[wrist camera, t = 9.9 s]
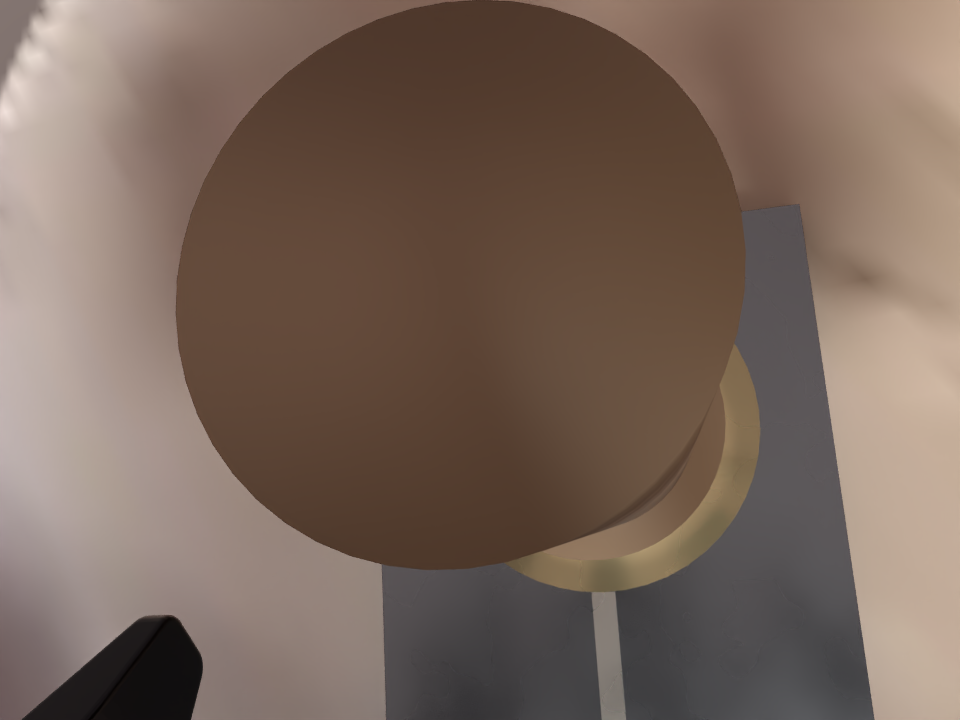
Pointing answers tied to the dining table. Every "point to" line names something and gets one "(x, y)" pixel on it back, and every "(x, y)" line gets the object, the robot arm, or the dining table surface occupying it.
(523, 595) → the gauge plate
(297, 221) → the walnut post
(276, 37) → the dining table surface
